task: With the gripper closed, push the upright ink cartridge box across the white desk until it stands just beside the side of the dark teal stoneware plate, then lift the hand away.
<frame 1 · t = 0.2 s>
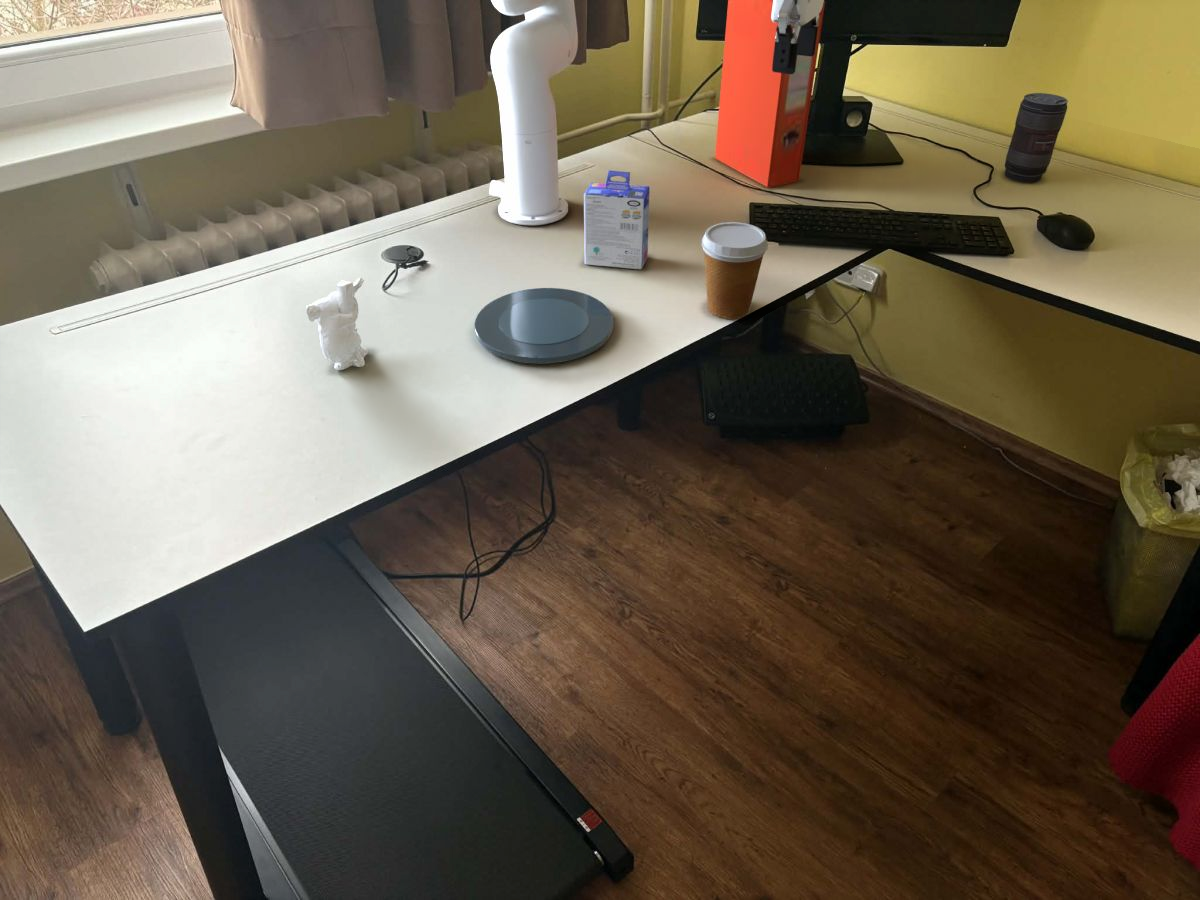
hand: (793, 63, 129), 31 cm above the table, tool pointing down, fingers open, 9 cm apart
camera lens: (1022, 177, 176), on the table
disposable coffee cup: (728, 310, 136), on the table
file binder: (756, 170, 179), on the table
ink cartridge box: (616, 261, 148), on the table
white upright lumpy figure: (349, 363, 124), on the table
plate: (544, 329, 131), on the table
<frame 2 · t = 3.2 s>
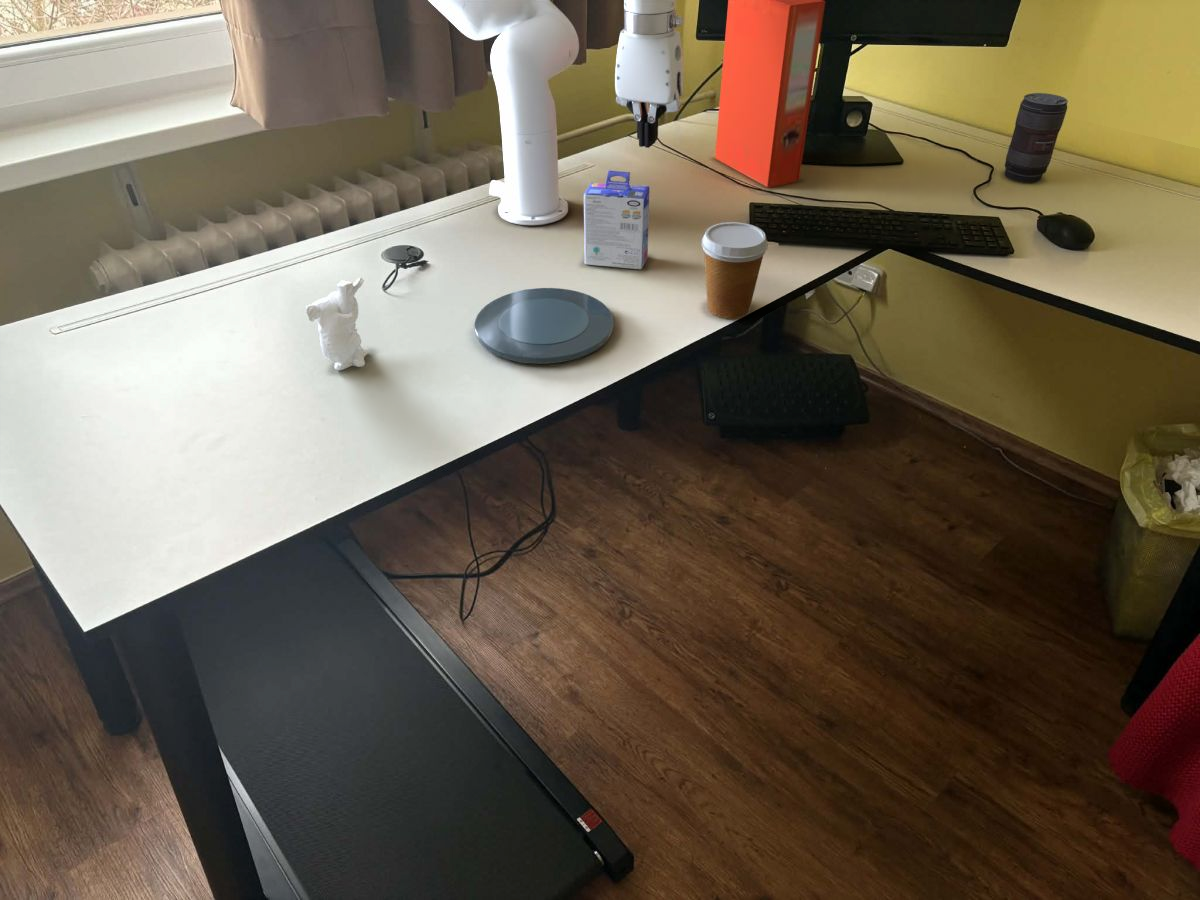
hand: (647, 144, 145), 16 cm above the table, tool pointing down, fingers closed
nothing on the table moved.
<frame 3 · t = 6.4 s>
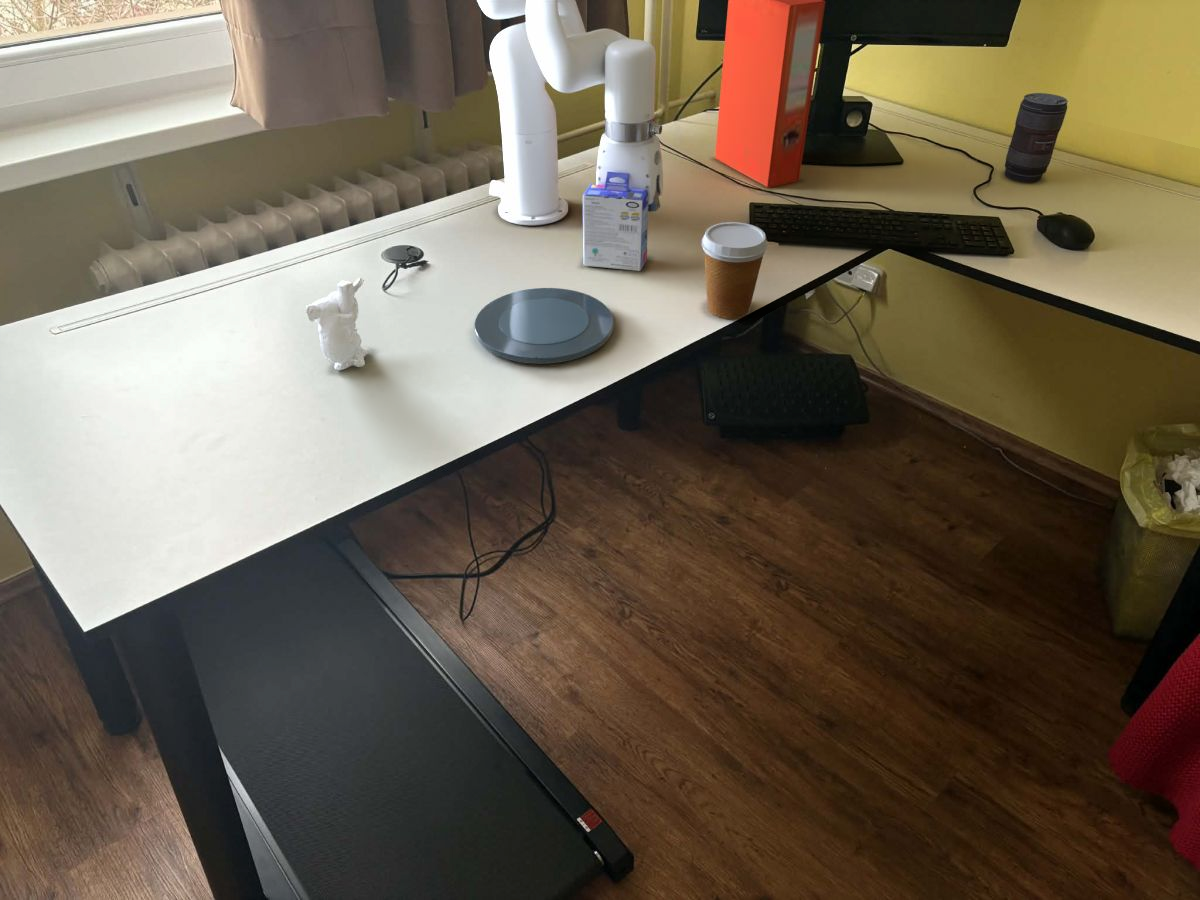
hand: (627, 239, 149), 2 cm above the table, tool pointing down, fingers closed
ink cartridge box: (615, 263, 148), on the table, touching gripper
everything else where it was.
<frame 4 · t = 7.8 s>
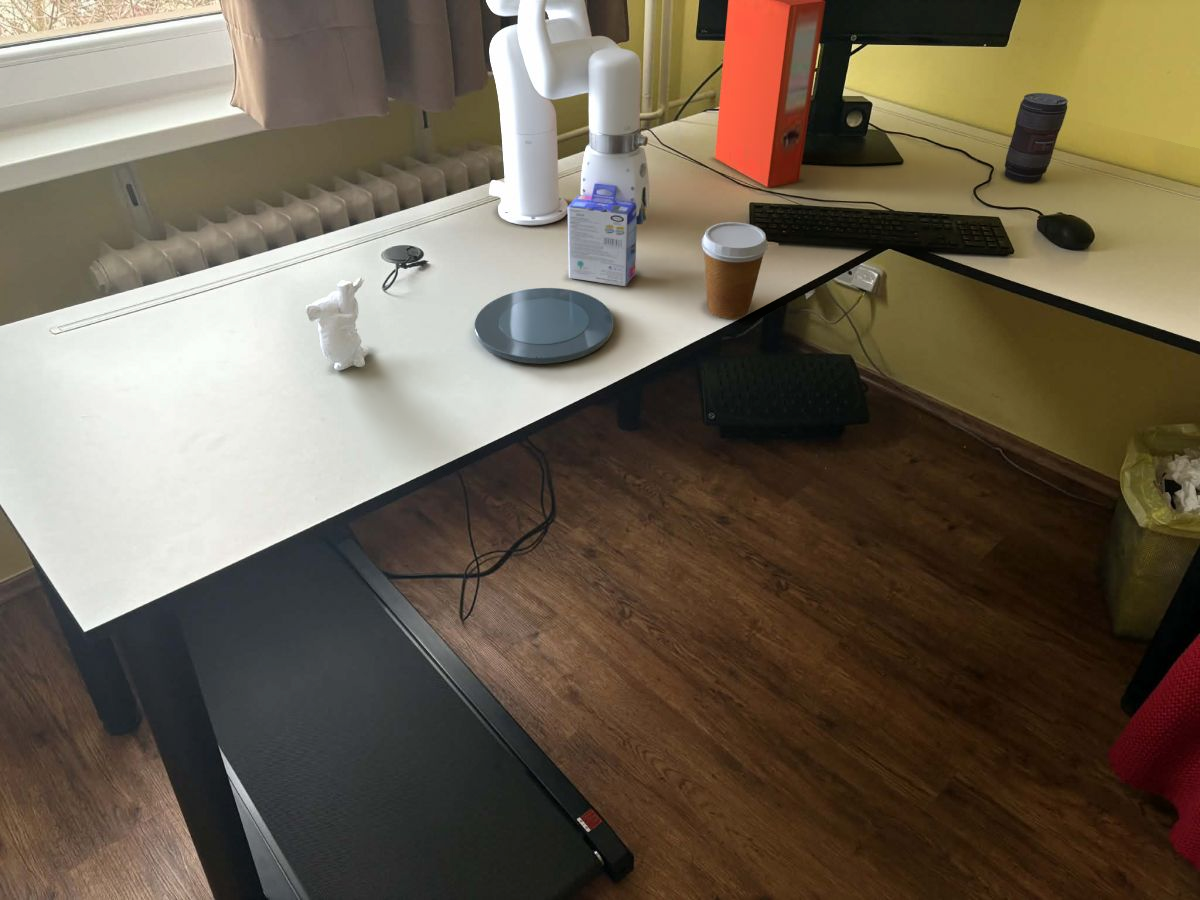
hand: (613, 252, 146), 2 cm above the table, tool pointing down, fingers closed
ink cartridge box: (602, 276, 144), on the table, touching gripper
everything else where it was.
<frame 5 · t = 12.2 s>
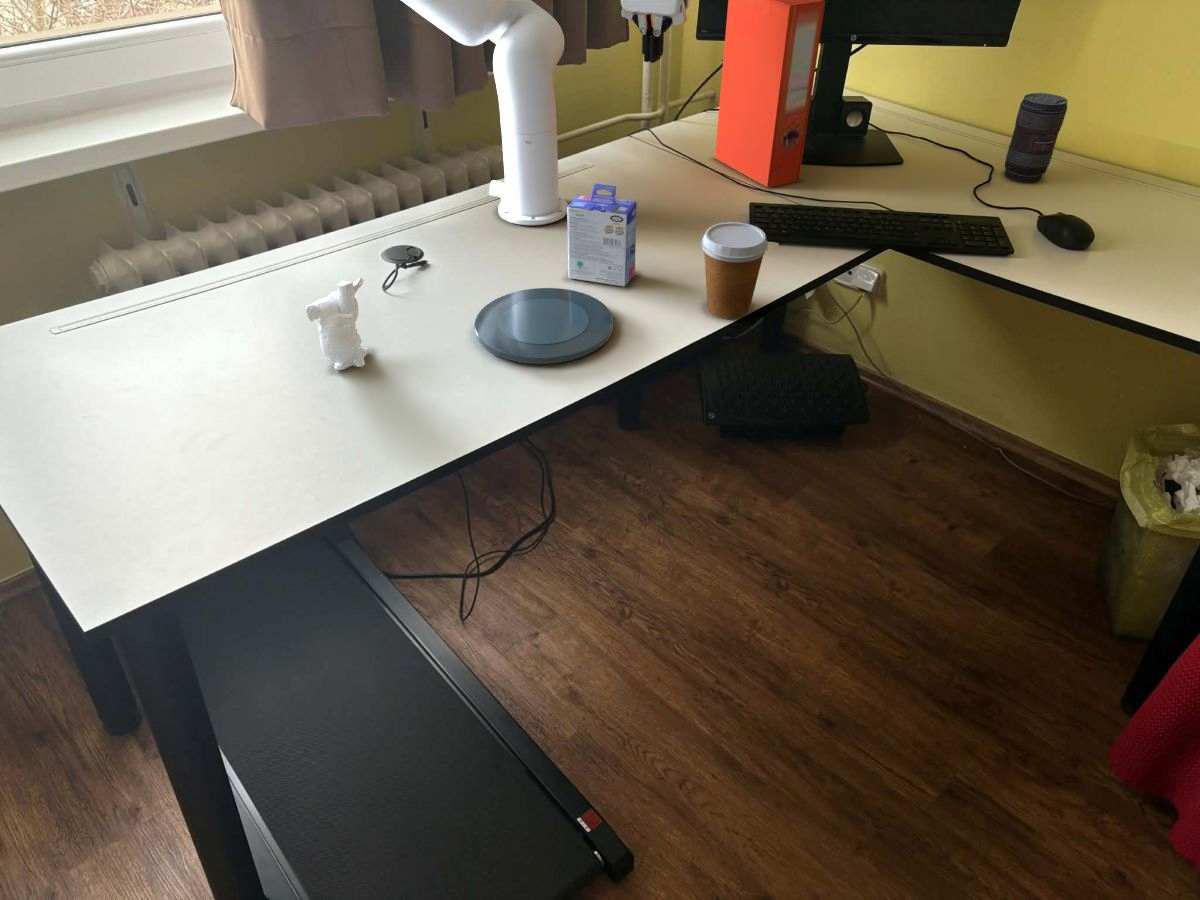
hand: (652, 60, 144), 27 cm above the table, tool pointing down, fingers closed
ink cartridge box: (602, 277, 144), on the table
everything else where it was.
at the end: ink cartridge box inside the target area on the table beside the plate (1.5 cm from its centre), on the table; ink cartridge box tilted 0° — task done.
